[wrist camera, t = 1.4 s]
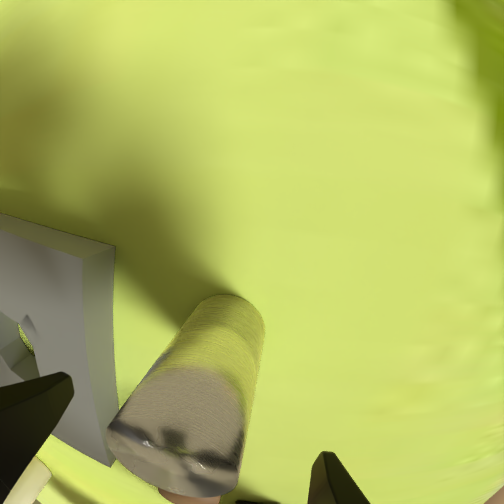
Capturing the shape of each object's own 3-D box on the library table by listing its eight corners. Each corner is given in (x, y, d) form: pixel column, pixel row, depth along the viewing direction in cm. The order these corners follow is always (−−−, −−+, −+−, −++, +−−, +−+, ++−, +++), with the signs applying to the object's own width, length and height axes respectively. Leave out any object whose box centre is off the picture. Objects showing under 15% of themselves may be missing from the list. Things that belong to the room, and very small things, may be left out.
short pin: (227, 467, 18) (214, 515, 13) (178, 453, 18) (158, 499, 13) (235, 440, 17) (222, 495, 12) (180, 425, 17) (156, 476, 12)
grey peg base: (124, 445, 19) (80, 516, 10) (7, 374, 20) (-42, 413, 11) (115, 246, 15) (-17, 301, 6) (-17, 207, 16) (-96, 223, 7)
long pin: (256, 367, 15) (227, 507, 6) (187, 349, 15) (114, 469, 7) (272, 304, 14) (251, 447, 5) (196, 286, 15) (97, 395, 6)
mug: (60, 481, 26) (29, 524, 14) (35, 467, 26) (5, 505, 15) (29, 442, 24) (-12, 487, 12) (7, 428, 24) (-32, 466, 13)
